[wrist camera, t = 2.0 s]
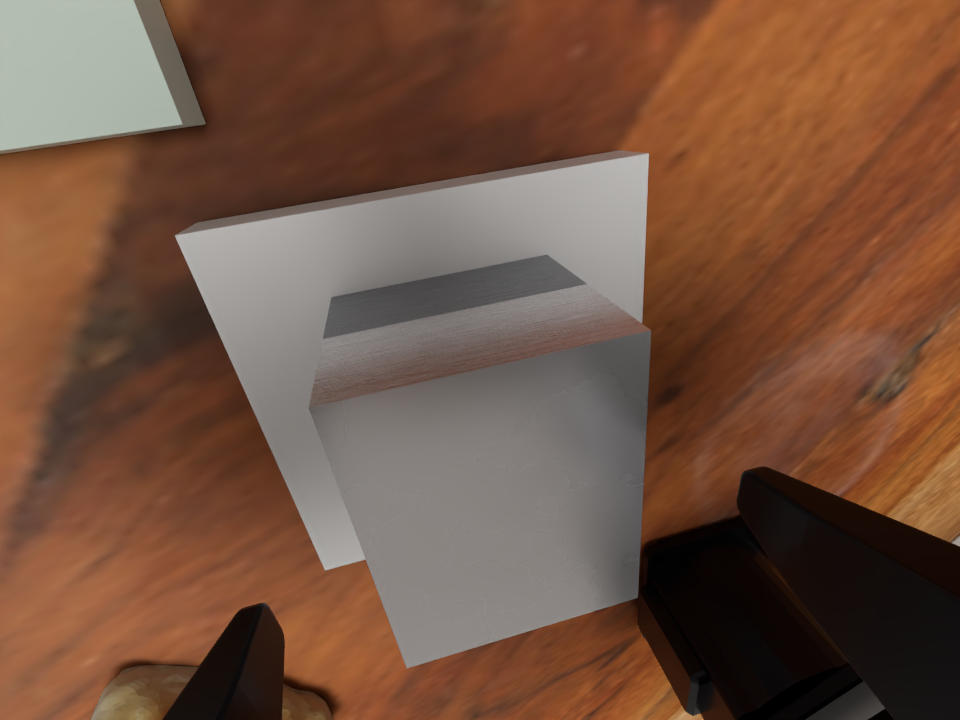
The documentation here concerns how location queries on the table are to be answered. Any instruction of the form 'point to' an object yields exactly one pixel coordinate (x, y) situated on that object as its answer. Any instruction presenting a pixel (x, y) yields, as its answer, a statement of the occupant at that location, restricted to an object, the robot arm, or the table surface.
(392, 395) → the block
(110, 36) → the stand
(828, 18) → the table surface
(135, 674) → the pastry
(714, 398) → the table surface
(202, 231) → the stand
